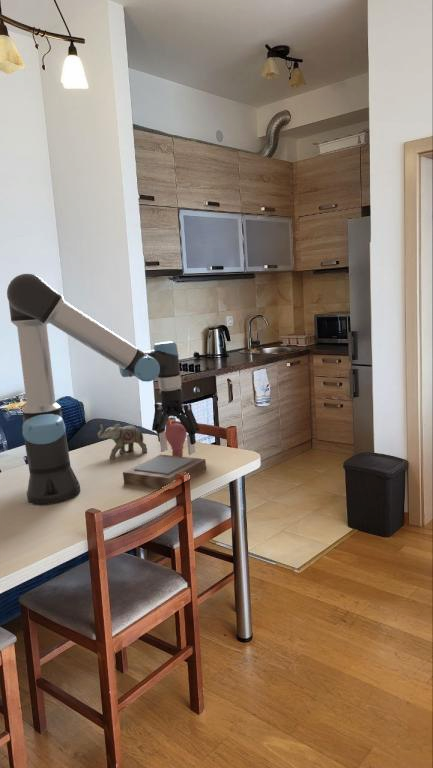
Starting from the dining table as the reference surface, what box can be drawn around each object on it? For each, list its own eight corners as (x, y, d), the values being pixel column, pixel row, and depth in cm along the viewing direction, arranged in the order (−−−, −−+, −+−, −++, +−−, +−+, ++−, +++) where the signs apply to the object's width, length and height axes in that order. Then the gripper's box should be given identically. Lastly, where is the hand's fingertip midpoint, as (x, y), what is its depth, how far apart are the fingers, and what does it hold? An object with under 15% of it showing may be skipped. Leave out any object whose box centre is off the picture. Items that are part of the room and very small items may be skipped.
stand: (124, 483, 174) (122, 470, 173) (161, 465, 188) (160, 453, 188) (170, 490, 164) (169, 476, 163) (206, 470, 178) (205, 457, 178)
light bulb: (190, 454, 197) (186, 420, 195) (187, 460, 191) (183, 425, 188) (170, 455, 198) (166, 421, 196) (166, 461, 191) (162, 427, 189)
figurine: (113, 461, 211) (99, 422, 210) (150, 449, 210) (136, 410, 209) (107, 467, 202) (92, 427, 200) (145, 454, 200) (131, 414, 199)
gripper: (206, 386, 187) (212, 451, 191) (150, 385, 200) (158, 446, 204) (192, 391, 181) (199, 458, 184) (136, 390, 194) (144, 452, 198)
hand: (178, 452), depth 194 cm, fingers open, 11 cm apart
